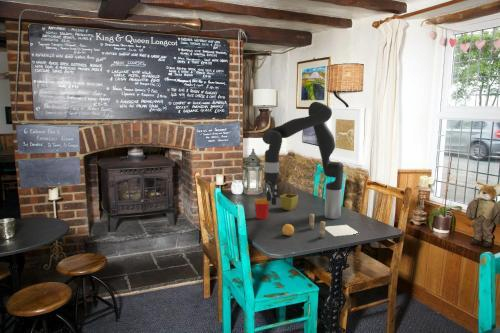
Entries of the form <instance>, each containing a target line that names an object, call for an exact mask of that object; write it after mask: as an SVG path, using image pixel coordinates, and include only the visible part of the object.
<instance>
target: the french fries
mask: <svg viewBox="0 0 500 333" xmlns="http://www.w3.org/2000/svg"><path fill="white" fill-rule="evenodd" d="M254 206H255V217H256V219H258V220H266V219H268V216H269V207H270V203H269V201H267V197H264V198H254Z"/></svg>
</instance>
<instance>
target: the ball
mask: <svg viewBox="0 0 500 333" xmlns="http://www.w3.org/2000/svg"><path fill="white" fill-rule="evenodd" d="M294 232H295V228H294V226H293V225H292V224H289V223H286V224H284V225H283V226H282V233H283V234H284V235H285V236H290V237H291V236H292V235H293V234H294Z"/></svg>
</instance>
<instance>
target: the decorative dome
mask: <svg viewBox="0 0 500 333" xmlns="http://www.w3.org/2000/svg"><path fill="white" fill-rule="evenodd" d="M276 185H278V197H277V198H280V196H282V195H284V194H293V195H298V196H299V194H298V190H297V187H295V186H294V185H293V184H292V183H290V182H287V181H280V182H278V183H276ZM276 194H277V193H276ZM274 195H275V193H274Z"/></svg>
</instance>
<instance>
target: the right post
mask: <svg viewBox="0 0 500 333" xmlns="http://www.w3.org/2000/svg"><path fill="white" fill-rule="evenodd" d="M325 227H326V221H322V220H321V221H319V238H320V239H325V238H326V230H325Z"/></svg>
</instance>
